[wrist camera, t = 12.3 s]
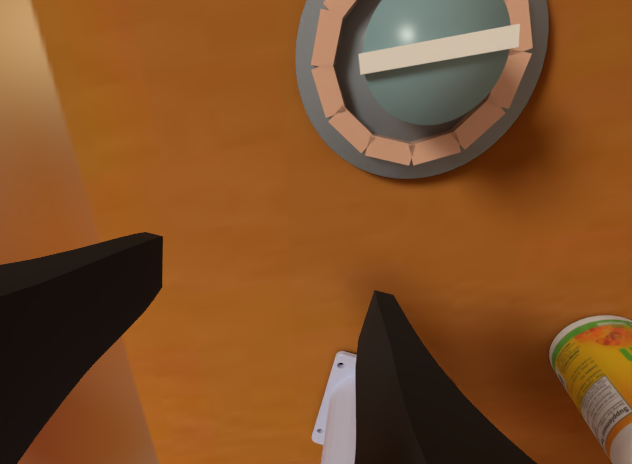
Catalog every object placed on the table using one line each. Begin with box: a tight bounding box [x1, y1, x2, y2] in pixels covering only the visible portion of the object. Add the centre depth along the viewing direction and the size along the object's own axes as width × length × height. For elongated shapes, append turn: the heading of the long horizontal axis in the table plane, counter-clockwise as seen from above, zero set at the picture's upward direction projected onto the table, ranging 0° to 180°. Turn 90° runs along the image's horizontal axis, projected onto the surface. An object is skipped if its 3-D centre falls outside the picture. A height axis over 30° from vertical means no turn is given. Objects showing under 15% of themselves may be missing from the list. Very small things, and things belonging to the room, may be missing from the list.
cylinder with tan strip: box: [358, 0, 520, 125], centre depth 13 cm, size 5×4×6 cm
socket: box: [295, 0, 549, 179], centre depth 16 cm, size 11×11×2 cm
